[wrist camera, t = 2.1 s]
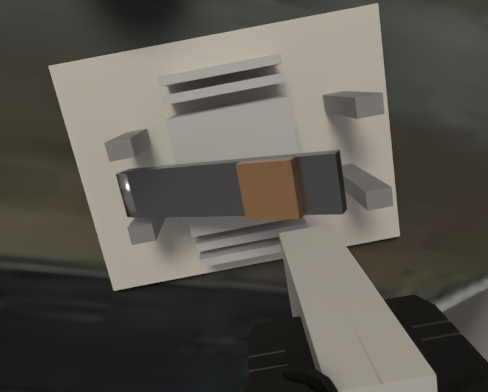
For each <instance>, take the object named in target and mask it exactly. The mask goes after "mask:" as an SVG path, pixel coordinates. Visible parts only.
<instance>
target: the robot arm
mask: <svg viewBox="0 0 488 392" xmlns="http://www.w3.org/2000/svg"><path fill="white" fill-rule="evenodd" d="M279 237H280V243H281V249H282V255H283V261H284V267H285V274H286V280H287V286H288V292H289V298H290V304H291V310H292V316H293V317H291V318H285V319H279V320H274V321H268V322H262V323H256V324H255V326H254V327H253V329H252V331H251V333H250V335H249V336H248V338H247V345H248V364H249V383H248V385H247V386H246V387H245V388H244V390H243V391H242V392H488V362H487V361H486V360H485V359H484V358H483V357H482V356H481V354H480V353H479V352H478V351H477V350H476V349H475V348H474V347H473V346H472V345H471V344H470V343H469V342H468V340H467V339H466V338H465V337H464V336H463V335H460V333H459V331H458V329H457V328H456V327H455V326H454V325H453V324H452V323H451V322H449V321H448V319H447V318H446V316H445V315H444V314H443V313H442V312H441V311H440V310H439V309H438V308H437V307H436V306H435V305H434V304H432V303H430V302H428V301H426V300H424V299H422V298H420V297H418V296H416V295H409V296H403V297H397V298H392V299H386V300H383V298H382V297H381V295H380V294H379V293H378V291H377V290H376V288H375V287H374V286H373V284H372V283H371V281H370V280H369V278H368V277H367V276H366V274H365V273H364V271H363V270H362V268H361V267H360V266H359V264H358V263H357V261H356V260H355V258H354V257H353V256H352V254H351V253H350V251H349V250H348V249H347V247H346V246H345V244H344V243H343V241H342V240H341V239H340V237H339V236H338V234H337V233H336V231H335V230H334V229H333V227H332V226H331V224H327V225H321V226H316V227H310V228H304V229H299V230H293V231H287V232H282V233H279Z"/></svg>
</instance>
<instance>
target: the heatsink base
mask: <svg viewBox="0 0 488 392" xmlns="http://www.w3.org/2000/svg"><path fill="white" fill-rule="evenodd" d="M48 67H49V70H50V73H51V77H52V80H53V84H54V87H55V91H56V94H57V98H58V101H59V104H60V108H61V111H62V115H63V118H64V122H65V125H66V128H67V132H68V135H69V139H70V142H71V146H72V149H73V153H74V156H75V159H76V163H77V166H78V170H79V173H80V177H81V180H82V183H83V187H84V190H85V194H86V197H87V201H88V204H89V207H90V211H91V214H92V218H93V221H94V225H95V228H96V232H97V235H98V238H99V242H100V245H101V249H102V252H103V256H104V259H105V262H106V266H107V269H108V273H109V276H110V280H111V283H112V287H113V290H114V291H115V290H121V289H126V288H131V287H136V286H142V285H147V284H152V283H157V282H163V281H168V280H173V279H178V278H183V277H189V276H194V275H199V274H204V273H210V272H215V271H220V270H225V269H231V268H236V267H241V266H246V265H252V264H257V263H262V262H267V261H272V260H278V259H283V255H282V249H281V243H280V237H279V233H282V232H287V231H293V230H299V229H304V228H310V227H316V226H321V225H327V224H331V226H332V227H333V229H334V230H335V231H336V233H337V234H338V236H339V237H340V239H341V240H342V241H343V243H344V244H345V246H351V245H356V244H362V243H367V242H372V241H377V240H382V239H388V238H393V237H398V236H400V232H399V221H398V210H397V200H396V189H395V178H394V168H393V157H392V146H391V136H390V125H389V114H388V104H387V93H386V82H385V72H384V61H383V50H382V40H381V29H380V18H379V8H378V3H377V4H372V5H367V6H361V7H356V8H351V9H345V10H340V11H335V12H330V13H324V14H319V15H314V16H309V17H303V18H298V19H293V20H288V21H282V22H277V23H272V24H267V25H261V26H256V27H251V28H246V29H240V30H235V31H230V32H225V33H219V34H214V35H209V36H204V37H198V38H193V39H188V40H183V41H177V42H172V43H167V44H162V45H156V46H151V47H146V48H141V49H135V50H130V51H125V52H120V53H114V54H109V55H104V56H99V57H93V58H88V59H83V60H78V61H72V62H67V63H62V64H57V65H51V66H48ZM330 150H340V155H341V163H342V171H343V179H344V187H345V195H346V203H347V210H346V211H345V213H344V214H340V215H303V216H302V218H301V219H285V220H246V217H245V216H214V217H151V218H132V217H127V215H126V211H125V207H124V204H123V200H122V196H121V193H120V189H119V185H118V181H117V178H116V173H119V172H122V171H125V170H127V169H132V168H143V167H154V166H165V165H176V164H187V163H198V162H209V161H220V160H231V159H242V158H253V157H264V156H275V155H286V154H297V153H308V152H319V151H330Z"/></svg>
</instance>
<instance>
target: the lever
mask: <svg viewBox="0 0 488 392" xmlns="http://www.w3.org/2000/svg"><path fill="white" fill-rule="evenodd" d="M116 178H117V181H118V185H119V189H120V193H121V196H122V200H123V204H124V207H125V211H126V215H127V217H132V218H151V217H214V216H245V217H246V220H285V219H301V218H302V216H303V215H340V214H344V213H345V211H346V210H347V203H346V195H345V187H344V179H343V171H342V163H341V155H340V150H330V151H319V152H308V153H297V154H286V155H275V156H264V157H253V158H242V159H231V160H220V161H209V162H198V163H187V164H176V165H165V166H154V167H143V168H132V169H127V170H125V171H122V172H119V173H116Z"/></svg>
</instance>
